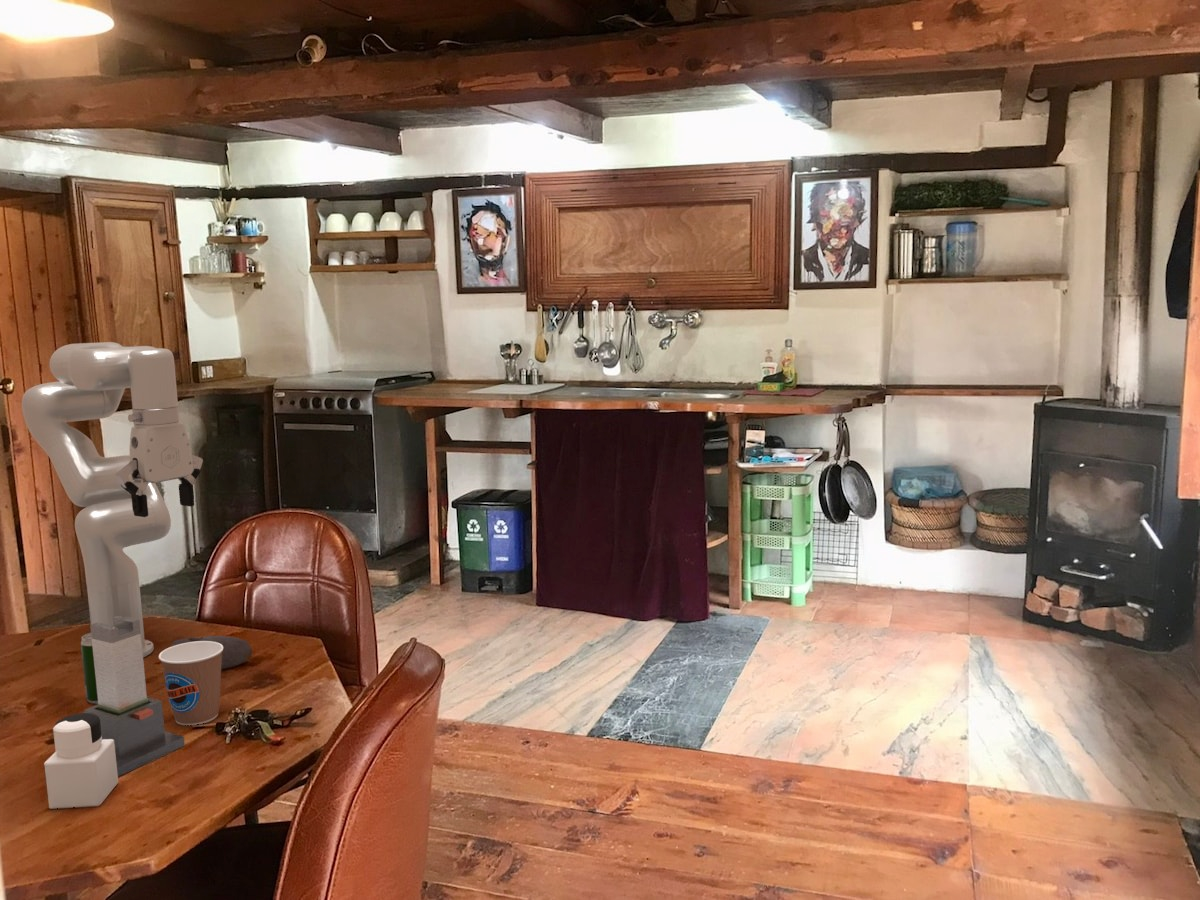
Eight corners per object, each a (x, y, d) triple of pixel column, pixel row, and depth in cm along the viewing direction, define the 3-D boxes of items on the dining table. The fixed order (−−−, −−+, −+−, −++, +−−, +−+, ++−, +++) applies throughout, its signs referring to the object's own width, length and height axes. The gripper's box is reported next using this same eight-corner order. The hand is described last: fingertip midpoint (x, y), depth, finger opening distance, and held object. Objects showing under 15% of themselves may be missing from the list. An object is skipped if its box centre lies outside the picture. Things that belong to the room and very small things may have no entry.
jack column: (98, 717, 159) (89, 624, 157) (128, 705, 163) (119, 615, 161) (119, 723, 156) (110, 629, 154) (149, 711, 161) (140, 620, 159)
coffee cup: (151, 725, 171) (144, 658, 169) (194, 702, 181) (188, 638, 179) (199, 733, 168) (193, 664, 166) (241, 709, 177) (236, 644, 175)
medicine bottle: (69, 785, 150) (61, 709, 149) (119, 782, 151) (111, 706, 149) (48, 810, 143) (38, 730, 142) (100, 806, 144) (91, 727, 142)
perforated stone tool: (252, 659, 202) (249, 626, 200) (253, 668, 197) (251, 634, 196) (170, 671, 196) (167, 637, 195) (170, 681, 191) (167, 646, 190)
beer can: (88, 707, 179) (81, 642, 178) (84, 697, 184) (78, 634, 182) (121, 700, 182) (115, 636, 180) (117, 690, 187) (110, 628, 185)
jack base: (69, 760, 159) (64, 712, 158) (137, 731, 169) (132, 685, 168) (117, 777, 153) (112, 727, 152) (184, 745, 163) (180, 698, 162)
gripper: (126, 424, 172) (135, 522, 175) (210, 413, 187) (217, 503, 189) (98, 422, 176) (108, 518, 178) (183, 411, 190) (191, 500, 193)
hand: (164, 510), depth 184 cm, fingers open, 9 cm apart
